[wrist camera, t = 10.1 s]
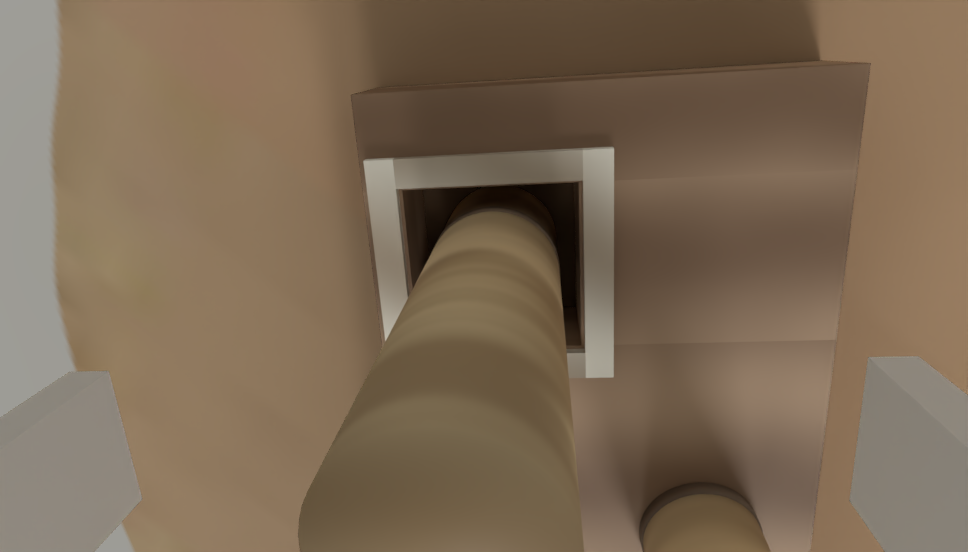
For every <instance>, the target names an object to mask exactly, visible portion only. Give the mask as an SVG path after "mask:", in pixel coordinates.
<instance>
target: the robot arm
mask: <svg viewBox="0 0 968 552" xmlns="http://www.w3.org/2000/svg"><path fill="white" fill-rule="evenodd" d="M141 500H142V496H141V492H140V488H139V485H138V481H137V477H136V473H135V469H134V466H133V462H132V458H131V454H130V450H129V446H128V443H127V439H126V435H125V431H124V427H123V423H122V420H121V416H120V412H119V408H118V404H117V401H116V397H115V393H114V389H113V385H112V381H111V378H110V374H109V371H85V372H68V373H67V374H65V375H64V376H62V377H61V378H60V379H58V380H56V381H55V382H53V383H52V384H50V385H49V386H47V387H46V388H45V389H43V390H41V391H40V392H38V393H37V394H35V395H34V396H32V397H31V398H29V399H28V400H26V401H25V402H23V403H22V404H20V405H18V406H17V407H15V408H14V409H13V410H11V411H9V412H8V413H7V414H5V415H3V416H2V417H0V552H94V551H95V550H96V549H97V548H98V547H99V546H100V545H101V544H102V543H103V542H104V540H105V539H106V538H107V537H108V536H109V535H110V534H111V533H112V532H113V531H114V530H115V529H116V527H117V526H118V525H119V524H120V523H121V522H122V521H123V520H124V519H125V518H126V516H127V515H128V514H129V513H130V512H131V511H132V510H133V509H134V508H135V507H136V505H137V504H138V503H139V502H140V501H141ZM850 502H851V504H852V505H853V507H854V508H855V509H856V511H857V512H858V514H859V515H860V517H861V518H862V520H863V521H864V522H865V524H866V525H867V527H868V528H869V530H870V531H871V533H872V534H873V535H874V537H875V538H876V540H877V541H878V543H879V544H880V545H881V547H882V548H883V550H884V551H885V552H968V395H967V394H965V393H964V392H963V391H962V390H960V389H959V388H958V387H957V386H955V385H954V384H953V383H952V382H950V381H949V380H948V379H947V378H945V377H944V376H943V375H941V374H940V373H939V372H938V371H936V370H935V369H934V368H933V367H931V366H930V365H929V364H928V363H926V362H925V361H924V360H922V359H921V358H920V357H919V356H905V357H868V363H867V371H866V378H865V386H864V394H863V401H862V409H861V416H860V424H859V432H858V439H857V447H856V455H855V462H854V470H853V478H852V485H851V493H850Z"/></svg>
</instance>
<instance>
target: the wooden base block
mask: <svg viewBox="0 0 968 552" xmlns="http://www.w3.org/2000/svg"><path fill="white" fill-rule="evenodd" d="M870 65H871V63H857V62H840V61H822V60H821V61H805V62H788V63H772V64H756V65H740V66H723V67H707V68H691V69H675V70H658V71H642V72H626V73H610V74H593V75H577V76H561V77H545V78H529V79H512V80H496V81H480V82H464V83H447V84H431V85H415V86H399V87H382V88H375V89H371V90H367V91H363V92H360V93H356V94H352V95H351V101H352V109H353V117H354V125H355V133H356V141H357V149H358V157H359V165H360V173H361V181H362V189H363V197H364V205H365V213H366V221H367V229H368V237H369V245H370V253H371V261H372V269H373V277H374V285H375V293H376V301H377V309H378V317H379V325H380V333H381V341H382V347H383V345H384V343H385V341H386V340H387V338H388V336H389V334H390V332H391V330H392V328H393V326H394V324H395V322H396V320H397V318H398V316H399V314H400V313H401V311H402V309H403V307H404V305H405V303H406V301H407V299H408V297H409V295H410V293H411V291H412V289H413V288H414V286H415V284H416V282H417V280H418V278H419V276H420V274H421V272H422V270H423V268H424V266H425V264H426V263H427V261H428V259H429V253H428V242H427V231H426V221H425V210H424V200H423V189H444V188H466V187H487V186H509V185H531V184H552V183H574V228H575V283H576V307H563V317H564V328H565V340H566V351H567V362H568V373H569V385H570V396H571V407H572V419H573V430H574V441H575V453H576V464H577V475H578V486H579V498H580V509H581V520H582V532H583V543H584V552H810V550H811V542H812V534H813V526H814V518H815V510H816V502H817V493H818V485H819V477H820V469H821V461H822V453H823V445H824V437H825V429H826V421H827V413H828V405H829V396H830V388H831V380H832V372H833V364H834V356H835V348H836V340H837V332H838V324H839V316H840V308H841V299H842V291H843V283H844V275H845V267H846V259H847V251H848V243H849V235H850V227H851V219H852V211H853V202H854V194H855V186H856V178H857V170H858V162H859V154H860V146H861V138H862V130H863V122H864V114H865V105H866V97H867V89H868V81H869V73H870Z"/></svg>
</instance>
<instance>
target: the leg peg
mask: <svg viewBox="0 0 968 552" xmlns="http://www.w3.org/2000/svg"><path fill="white" fill-rule="evenodd" d="M298 538H299V547H300V552H584V543H583V532H582V520H581V509H580V498H579V486H578V475H577V464H576V453H575V441H574V430H573V419H572V407H571V396H570V385H569V373H568V362H567V351H566V340H565V328H564V317H563V306H562V294H561V283H560V264H559V257H558V249H557V238H556V229H555V225H554V222H553V219H552V217H551V215H550V213H549V211H548V210H547V209H546V207H545V206H544V205H543V204H542V203H541V201H540V200H539V199H537V198H536V197H535V196H533V195H532V194H530V193H529V192H527V191H525V190H522V189H520V188H517V187H513V186H488V187H484V188H481V189H479V190H476V191H474V192H473V193H471V194H469V195H468V196H467V197H465V198H464V199H463V200H462V201H461V202H460V203H459V204H458V205H457V207H456V208H455V209H454V211H453V213H452V215H451V216H450V218H449V220H448V222H447V224H446V226H445V228H444V230H443V232H442V233H441V235H440V236H439V238H438V240H437V242H436V244H435V246H434V248H433V250H432V253H431V255H430V257H429V259H428V261H427V263H426V264H425V266H424V268H423V270H422V272H421V274H420V276H419V278H418V280H417V282H416V284H415V286H414V288H413V289H412V291H411V293H410V295H409V297H408V299H407V301H406V303H405V305H404V307H403V309H402V311H401V313H400V314H399V316H398V318H397V320H396V322H395V324H394V326H393V328H392V330H391V332H390V334H389V336H388V338H387V340H386V341H385V343H384V345H383V347H382V349H381V351H380V353H379V355H378V357H377V359H376V361H375V363H374V365H373V366H372V368H371V370H370V372H369V374H368V376H367V378H366V380H365V382H364V384H363V386H362V388H361V390H360V391H359V393H358V395H357V397H356V399H355V401H354V403H353V405H352V407H351V409H350V411H349V413H348V415H347V416H346V418H345V420H344V422H343V424H342V426H341V428H340V430H339V432H338V434H337V436H336V438H335V440H334V441H333V443H332V445H331V447H330V449H329V451H328V453H327V455H326V457H325V459H324V461H323V463H322V465H321V466H320V468H319V470H318V472H317V474H316V476H315V478H314V480H313V482H312V484H311V486H310V488H309V490H308V492H307V494H306V497H305V499H304V502H303V504H302V508H301V513H300V517H299V529H298Z"/></svg>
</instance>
